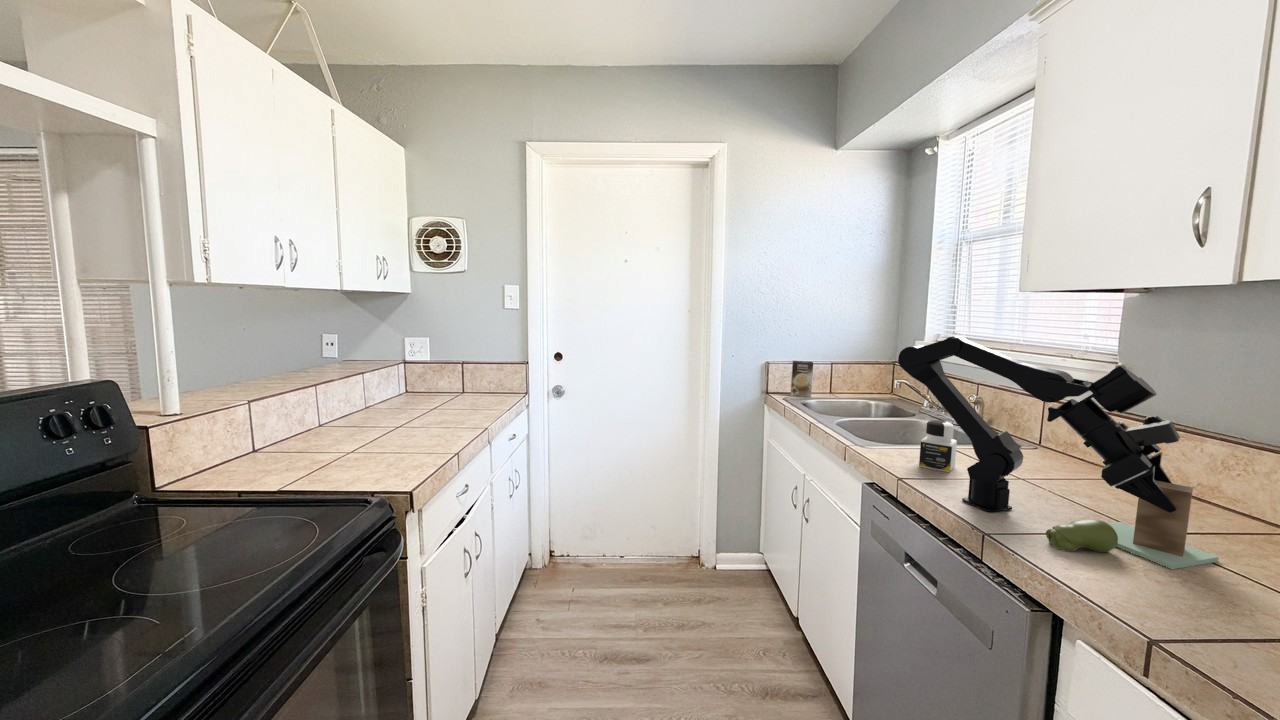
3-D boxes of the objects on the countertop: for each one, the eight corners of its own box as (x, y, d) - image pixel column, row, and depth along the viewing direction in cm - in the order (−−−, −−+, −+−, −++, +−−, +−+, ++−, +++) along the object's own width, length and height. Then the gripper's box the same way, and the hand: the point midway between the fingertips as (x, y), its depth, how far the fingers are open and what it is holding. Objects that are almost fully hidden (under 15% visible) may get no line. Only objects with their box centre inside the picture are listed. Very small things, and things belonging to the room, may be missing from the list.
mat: (1077, 531, 95) (1078, 527, 95) (1120, 525, 98) (1120, 521, 98) (1171, 569, 82) (1172, 564, 81) (1218, 561, 84) (1218, 556, 84)
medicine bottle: (918, 466, 133) (921, 421, 131) (924, 460, 138) (927, 417, 137) (950, 472, 128) (953, 426, 127) (955, 466, 133) (958, 421, 132)
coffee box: (790, 396, 232) (792, 361, 230) (790, 394, 238) (791, 360, 236) (811, 397, 230) (813, 362, 228) (811, 395, 236) (812, 361, 234)
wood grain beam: (1132, 543, 89) (1140, 482, 87) (1135, 537, 91) (1143, 478, 90) (1182, 556, 84) (1191, 493, 83) (1184, 549, 87) (1193, 487, 85)
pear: (1125, 526, 84) (1057, 531, 86) (1127, 556, 85) (1060, 560, 87) (1101, 512, 90) (1038, 517, 92) (1103, 541, 90) (1040, 545, 92)
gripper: (1136, 408, 82) (1231, 494, 75) (1149, 396, 94) (1232, 469, 87) (1068, 445, 89) (1149, 527, 82) (1089, 429, 101) (1161, 499, 94)
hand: (1175, 504), depth 86 cm, fingers open, 9 cm apart
